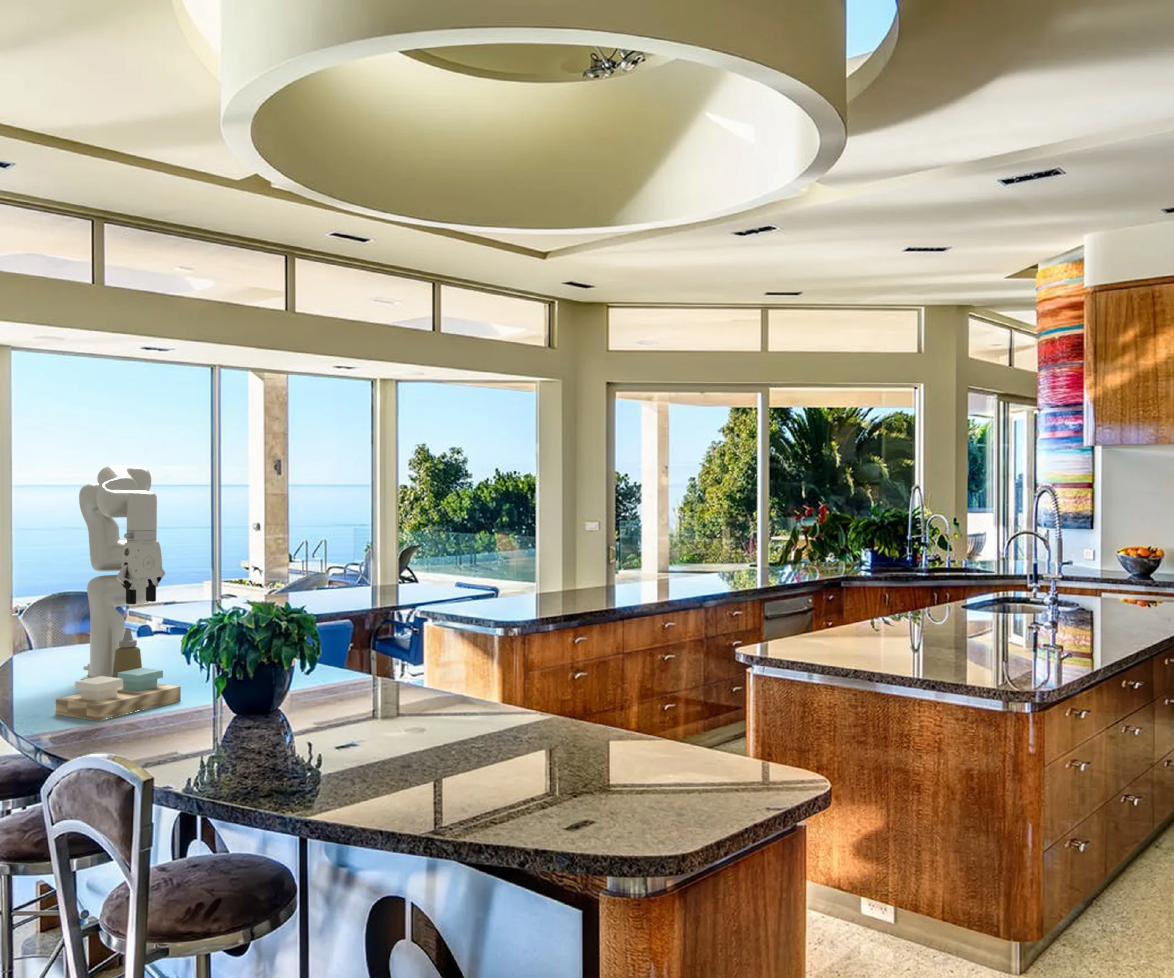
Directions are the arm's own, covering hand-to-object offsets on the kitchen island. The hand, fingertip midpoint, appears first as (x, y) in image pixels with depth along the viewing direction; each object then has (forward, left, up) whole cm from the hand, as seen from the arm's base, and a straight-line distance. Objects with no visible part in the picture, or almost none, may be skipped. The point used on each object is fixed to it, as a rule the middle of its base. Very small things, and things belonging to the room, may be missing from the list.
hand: (141, 602), depth 269 cm
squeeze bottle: (-16, +10, -28) cm, 33 cm away
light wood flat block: (0, -6, -28) cm, 28 cm away
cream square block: (0, -13, -24) cm, 27 cm away
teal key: (0, 0, -24) cm, 24 cm away
